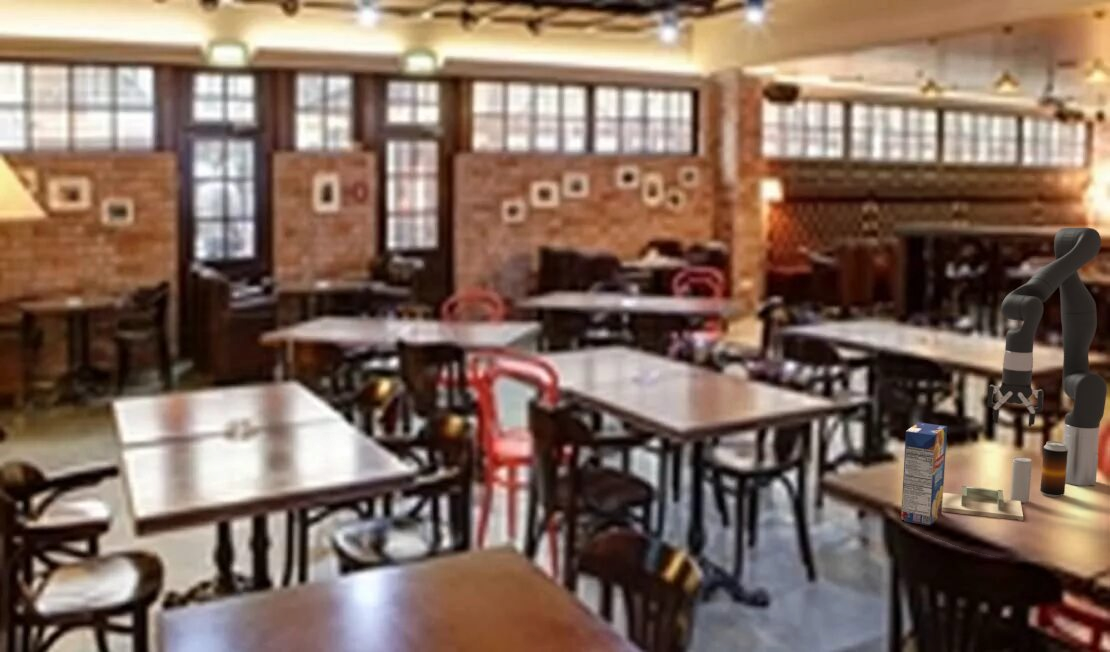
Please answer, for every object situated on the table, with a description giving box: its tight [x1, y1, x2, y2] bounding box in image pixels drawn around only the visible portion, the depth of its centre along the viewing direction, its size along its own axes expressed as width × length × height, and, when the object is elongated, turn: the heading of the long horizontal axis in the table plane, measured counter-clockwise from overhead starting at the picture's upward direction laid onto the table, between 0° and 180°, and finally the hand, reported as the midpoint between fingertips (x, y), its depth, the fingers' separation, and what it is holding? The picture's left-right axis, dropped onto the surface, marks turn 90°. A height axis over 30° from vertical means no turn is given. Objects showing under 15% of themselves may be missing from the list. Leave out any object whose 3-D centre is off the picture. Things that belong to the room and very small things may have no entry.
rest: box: [942, 485, 1024, 521], centre depth 288 cm, size 20×14×4 cm
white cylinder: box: [1009, 456, 1033, 504], centre depth 294 cm, size 5×5×12 cm
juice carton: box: [900, 422, 948, 526], centre depth 279 cm, size 12×8×24 cm, turn 146°
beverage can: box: [1040, 440, 1068, 498], centre depth 300 cm, size 6×6×15 cm
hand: (1013, 424), depth 296 cm, fingers open, 8 cm apart
